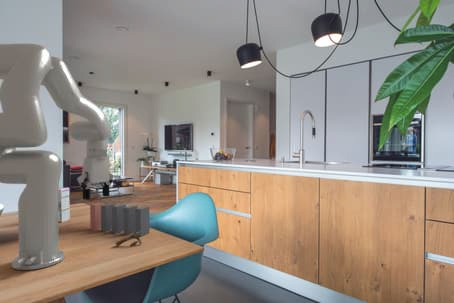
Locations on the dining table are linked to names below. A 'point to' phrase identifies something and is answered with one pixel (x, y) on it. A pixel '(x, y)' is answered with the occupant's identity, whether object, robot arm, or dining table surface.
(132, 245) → the wooden post with brackets
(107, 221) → the domino
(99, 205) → the domino
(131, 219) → the domino
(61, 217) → the syrup box
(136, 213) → the domino
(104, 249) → the dining table surface
